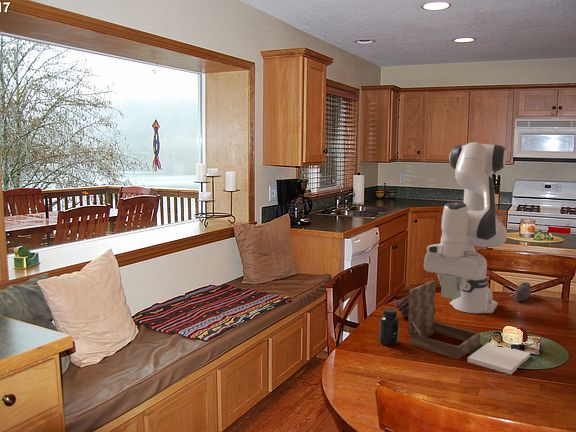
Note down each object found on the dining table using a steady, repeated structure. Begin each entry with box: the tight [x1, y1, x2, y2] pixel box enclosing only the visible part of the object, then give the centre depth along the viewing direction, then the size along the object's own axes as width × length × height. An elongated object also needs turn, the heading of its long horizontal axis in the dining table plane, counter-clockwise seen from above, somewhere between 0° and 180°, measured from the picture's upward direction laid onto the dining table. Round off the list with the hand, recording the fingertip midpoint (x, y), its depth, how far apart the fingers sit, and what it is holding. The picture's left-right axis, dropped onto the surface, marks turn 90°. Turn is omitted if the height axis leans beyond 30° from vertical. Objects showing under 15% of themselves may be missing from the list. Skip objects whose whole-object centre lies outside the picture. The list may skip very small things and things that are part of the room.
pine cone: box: [394, 295, 436, 319], centre depth 212 cm, size 18×10×10 cm, turn 52°
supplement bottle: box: [378, 308, 400, 346], centre depth 186 cm, size 7×7×12 cm
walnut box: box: [407, 279, 482, 360], centre depth 184 cm, size 18×19×20 cm
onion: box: [515, 324, 529, 343], centre depth 183 cm, size 6×6×8 cm
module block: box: [440, 274, 462, 300], centre depth 181 cm, size 5×5×8 cm
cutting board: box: [467, 341, 531, 376], centre depth 173 cm, size 18×14×2 cm
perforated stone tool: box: [514, 281, 532, 302], centre depth 239 cm, size 15×5×7 cm, turn 139°
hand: (451, 287), depth 181 cm, fingers closed on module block, 5 cm apart
